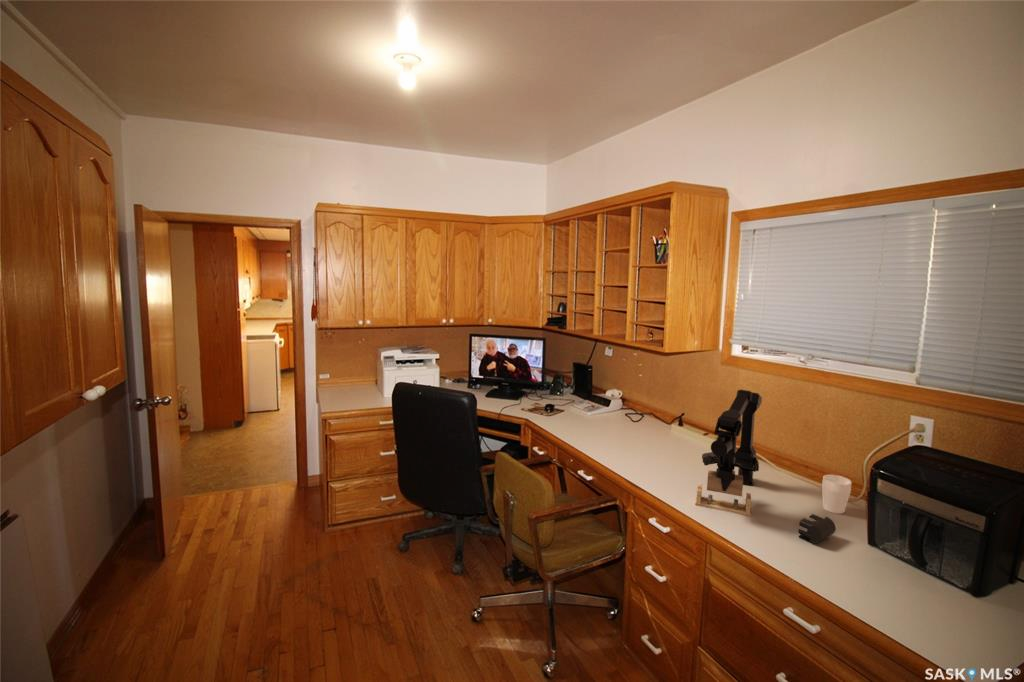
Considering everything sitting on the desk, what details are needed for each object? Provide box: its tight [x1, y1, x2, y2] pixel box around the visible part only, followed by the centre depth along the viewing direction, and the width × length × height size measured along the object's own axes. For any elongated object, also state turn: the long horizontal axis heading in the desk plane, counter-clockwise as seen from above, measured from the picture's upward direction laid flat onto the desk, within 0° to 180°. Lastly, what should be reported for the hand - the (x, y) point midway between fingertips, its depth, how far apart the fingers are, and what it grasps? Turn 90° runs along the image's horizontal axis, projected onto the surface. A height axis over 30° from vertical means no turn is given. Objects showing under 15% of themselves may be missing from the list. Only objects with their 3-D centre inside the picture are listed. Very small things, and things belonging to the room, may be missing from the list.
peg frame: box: [694, 483, 752, 517], centre depth 183 cm, size 7×19×6 cm, turn 65°
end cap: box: [797, 513, 837, 545], centre depth 162 cm, size 10×7×7 cm
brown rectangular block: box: [706, 469, 744, 497], centre depth 182 cm, size 5×12×6 cm, turn 65°
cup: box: [821, 474, 852, 515], centre depth 181 cm, size 9×9×12 cm
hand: (724, 487), depth 182 cm, fingers closed on brown rectangular block, 5 cm apart
